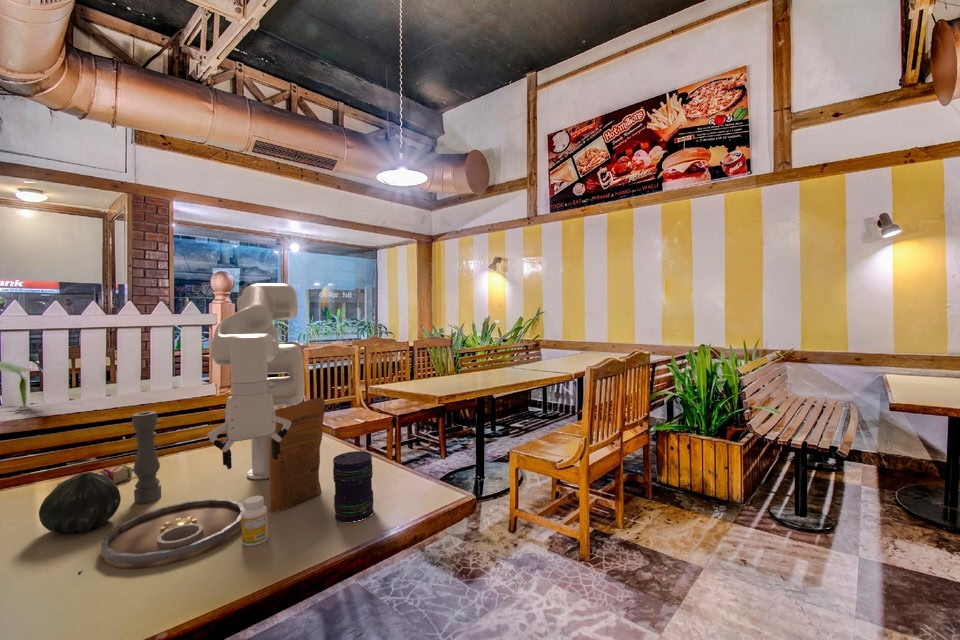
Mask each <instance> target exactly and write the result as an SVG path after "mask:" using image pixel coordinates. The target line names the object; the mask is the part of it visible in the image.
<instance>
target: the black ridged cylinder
mask: <svg viewBox="0 0 960 640" xmlns="http://www.w3.org/2000/svg"><path fill="white" fill-rule="evenodd" d="M372 458H373V455H372V453H370V452H368V451H357V450H355V451H349V452H348V451H347V452H344V453H340V454H337V455H336V456H334V457H333V458H332V461H333V462H332V463H333V469H332V470H333V471H332V474H333V477H332V479H333V482H334V495H333V501H334V503H333V506H334V507H333V508H334V513H335V514H334V518H336V519H335V520H336V521H337V520H338V521H337V522H339V521H341V522H340V523H342V522H353V521H358V520H362V519H365V518H367V517H369V516H370V515H371V514H372V513H373V514H374V503H375V502H374V491H373V489H372V488H373V487H372V486H373V484H372V483H373V481H372V478H373V473H374V472H373V459H372ZM373 514H372V515H373ZM370 517H371V516H370ZM370 517H369V518H370ZM367 519H368V518H367ZM365 520H366V519H365Z"/></svg>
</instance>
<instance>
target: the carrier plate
mask: <svg viewBox="0 0 960 640" xmlns="http://www.w3.org/2000/svg"><path fill="white" fill-rule="evenodd" d="M239 514H240V513H239V511H238V510H236V509H233V508H230V507H227V506H203V507H194V508H187V509H183V510H179V511H174V512H170V513H166V514H163V515H160V516H157V517H154V518H152V519H149V520H146V521H143V522H141V523H139V524H137V525H135V526H133V527H131V528H129V529H128V530H126V531H124V532H122V533H121V534H120V535H118V536H117V537H116V538H115V539H114V540H113V541H112V542H111V543H109V548H111V549H112V550H114V551H116V552H118V553H133V554H142V553H149V552H156V551H163V550H169V549H173V548H176V547H180V546H183V545H187V544H190V543H194V542H197V541H199V540H201V539H204V538H206V537H208V536H211V535H213V534H215V533H218V532H220V531H221V530H223V529H224V528H226V527H227V526H229V525H230V524H231V523H233V522H234V521H236V519H237V517H238V516H239ZM187 517H192V519H197V524H196V523H195V524H184V525H180V526H177V527H174V528H171V529H169V530H166V531H164V532H162V533H161V534H160V528H161V527H164V524H165V523H166V522H172V521H174V520H176V519H177V518H180V519H183V518H187ZM240 531H242V524H241V526H240V527H239V528H237V529H236V530H235V531H233V532H232V533H230V534H229V535H228V536H226V537H225V538H223V539H221V540H219V541H217V542H215V543H212V544H210V545H208V546H206V547H204V548H201V549H199V550H197V551H193V552H190V553H186V554H183V555H180V556H176V557H173V558H169V559H165V560H158V561H151V562H144V563H137V564H133V563H117V562H111V561H110V560H108V559H107V558H105V557H103V556H102V560H103V559H104V560H103V562H104V561H105V562H106V563H107V564H106V563H105V562H104V563H105V564H106V565H108V564H109V565H108V566H110V565H111V566H110V567H112V566H113V568H116V567H117V569H123V570H126V569H127V570H129V569H130V570H131V569H132V570H135V569H149V568H154V567H155V568H156V567H160V566H161V567H162V566H165V565H169V564H174V563H177V562H181V561H185V560H187V559H191V558H194V557H196V556H199V555H201V554H205V553H206V552H208V551H211V550H213V549H214V548H217V547H219V546H220V545H223V544H225V543H226V542H228V541H229V540H231V539H232V538H233V537H235V536H236V535H237V534H238V533H239V532H240Z"/></svg>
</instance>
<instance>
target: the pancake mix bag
mask: <svg viewBox="0 0 960 640" xmlns="http://www.w3.org/2000/svg"><path fill="white" fill-rule="evenodd" d="M325 408H326V407H325V398H324V397H322V396H320V397H315V398H312V399H308V400H305V401H302V402H300V403H298V404H292V405H290V406H289V405H287V406H285V407H281V408H277V409H275V416H278V417H281V418H285V419H288V420H290V421H291V425H290V427H289V429H288V432H287V434H286V435H285V436H284V437H283V438H282V440H281V441H280V454H278V459H276V460H275V459H274V458H273V457H272V445H271V441H272V440H273V438H272V437H271V436H269V441H268V468H269V479H268V480H269V486H268V487H269V496H270V505H269V512H277V511H276V510H282V511H284V510H283V509H286V510H288V509H287V508H289V509H290V507H291V508H293V507H295V506H297V505H299V504H302V503H304V502H306V501H308V500H310V498H311V499H313V498H315V496H316V497H318V496H320V494H321V493H322V487H321V482H320V473H319V471H320V464H321V444H322V441H323V436H324V435H323V434H324V431H323V430H324V417H325ZM282 427H283V424H281V423H278V422H276V432H275V433H276V434H277V433H278V432H279V431H280V430H281V429H282ZM320 492H321V493H320ZM317 495H318V496H317ZM292 506H293V507H292Z"/></svg>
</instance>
